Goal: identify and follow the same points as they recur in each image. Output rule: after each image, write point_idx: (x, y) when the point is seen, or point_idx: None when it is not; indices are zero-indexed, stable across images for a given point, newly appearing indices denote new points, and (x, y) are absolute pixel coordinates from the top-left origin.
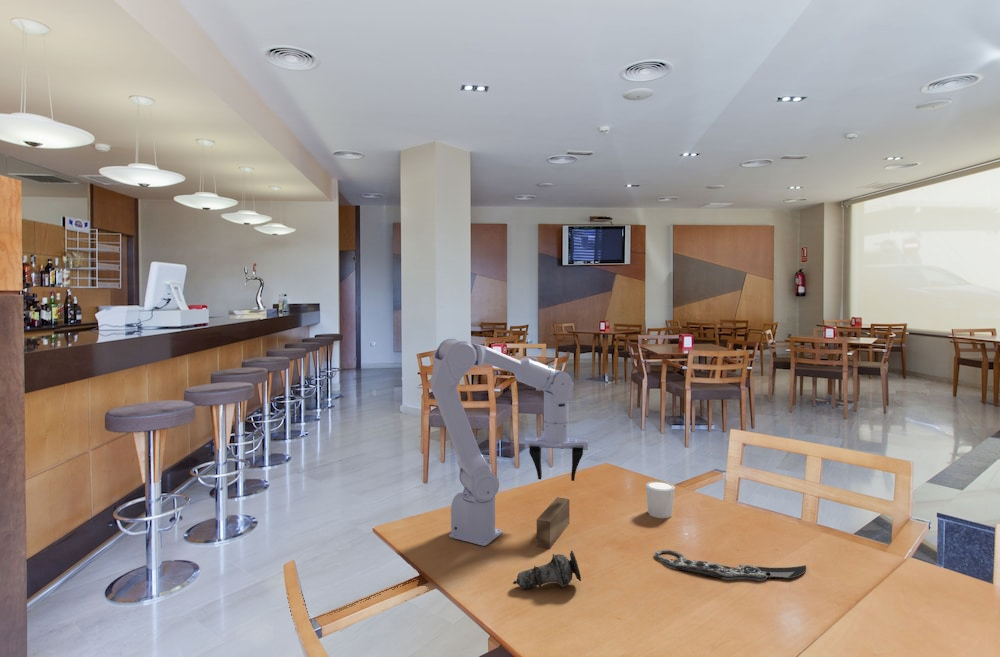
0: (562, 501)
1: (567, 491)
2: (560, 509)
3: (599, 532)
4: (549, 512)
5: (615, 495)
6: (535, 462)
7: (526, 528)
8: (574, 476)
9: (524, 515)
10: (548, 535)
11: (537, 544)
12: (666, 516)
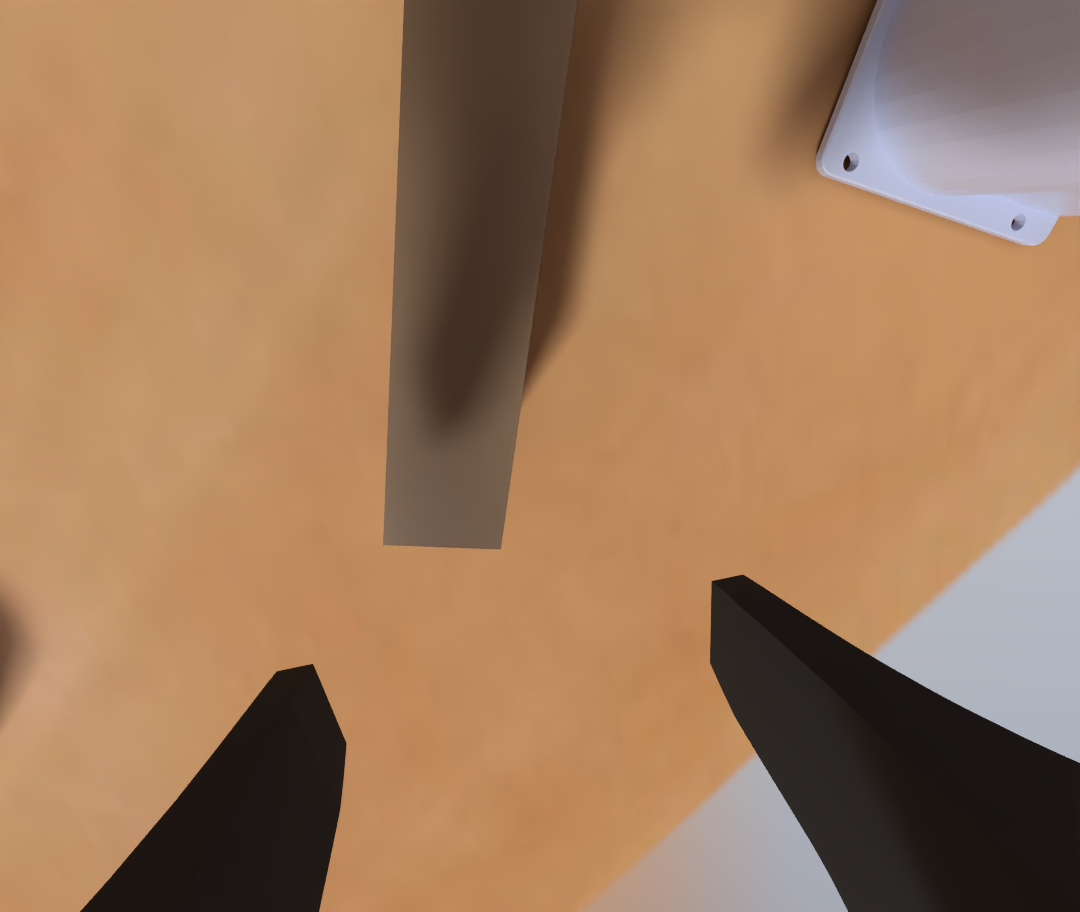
0: (430, 473)
1: (513, 812)
2: (394, 262)
3: (153, 377)
4: (492, 137)
5: None
6: (1010, 751)
7: (662, 296)
8: (238, 721)
9: (695, 480)
10: None
11: None
12: None
